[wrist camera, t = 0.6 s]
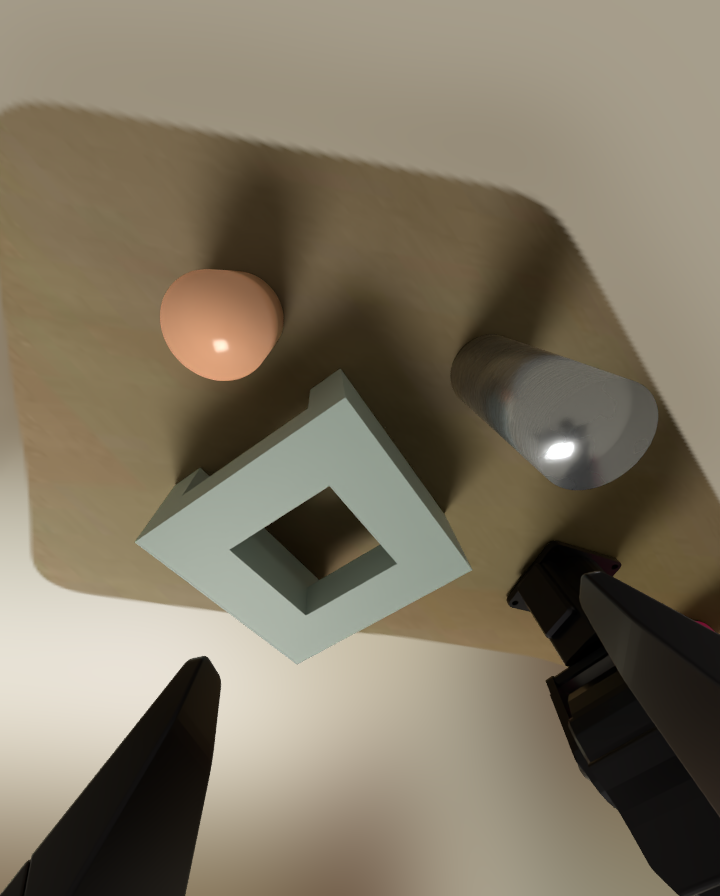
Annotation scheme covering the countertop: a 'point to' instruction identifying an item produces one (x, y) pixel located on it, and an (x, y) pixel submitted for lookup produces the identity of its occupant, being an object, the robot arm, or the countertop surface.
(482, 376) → the steel pin
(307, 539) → the countertop surface
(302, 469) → the slate pin jig
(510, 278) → the countertop surface
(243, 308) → the terracotta stub
